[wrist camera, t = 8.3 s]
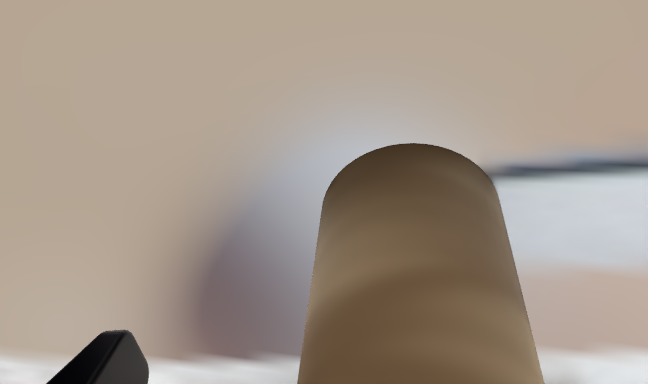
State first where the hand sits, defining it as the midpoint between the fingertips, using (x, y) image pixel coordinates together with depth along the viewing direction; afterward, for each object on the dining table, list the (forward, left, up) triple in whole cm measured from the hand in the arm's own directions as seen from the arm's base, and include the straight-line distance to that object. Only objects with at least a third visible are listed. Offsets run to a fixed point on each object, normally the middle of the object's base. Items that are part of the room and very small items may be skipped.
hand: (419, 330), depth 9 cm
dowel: (0, 0, -3) cm, 3 cm away
